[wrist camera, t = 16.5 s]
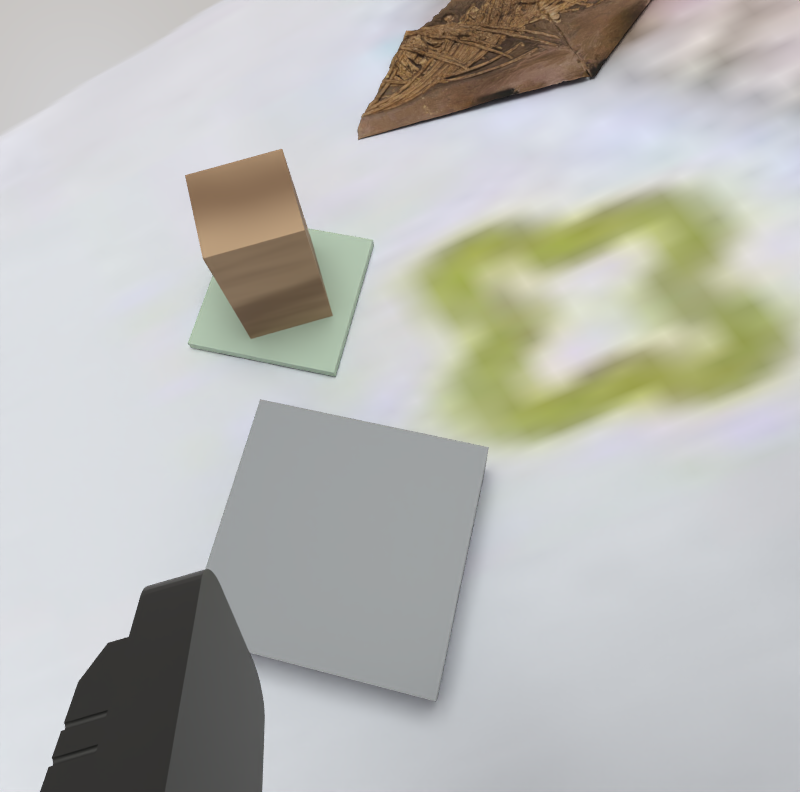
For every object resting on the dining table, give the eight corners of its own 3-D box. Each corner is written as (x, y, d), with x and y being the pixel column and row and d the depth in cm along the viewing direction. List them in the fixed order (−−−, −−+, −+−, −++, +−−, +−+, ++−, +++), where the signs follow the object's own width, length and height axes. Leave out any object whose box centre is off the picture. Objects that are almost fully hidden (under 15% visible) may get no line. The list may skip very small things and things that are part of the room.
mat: (373, 245, 46) (372, 239, 45) (335, 376, 43) (333, 372, 42) (237, 221, 47) (234, 215, 47) (191, 347, 44) (187, 343, 44)
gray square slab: (485, 468, 41) (488, 447, 37) (437, 698, 37) (435, 701, 33) (277, 423, 42) (260, 399, 38) (209, 639, 38) (183, 635, 35)
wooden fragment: (625, -76, 55) (628, -90, 54) (718, 19, 51) (723, 6, 50) (314, 72, 52) (311, 60, 51) (389, 184, 48) (388, 174, 47)
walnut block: (332, 315, 44) (304, 229, 35) (250, 339, 44) (202, 258, 35) (313, 246, 46) (282, 148, 37) (234, 268, 45) (185, 175, 37)
